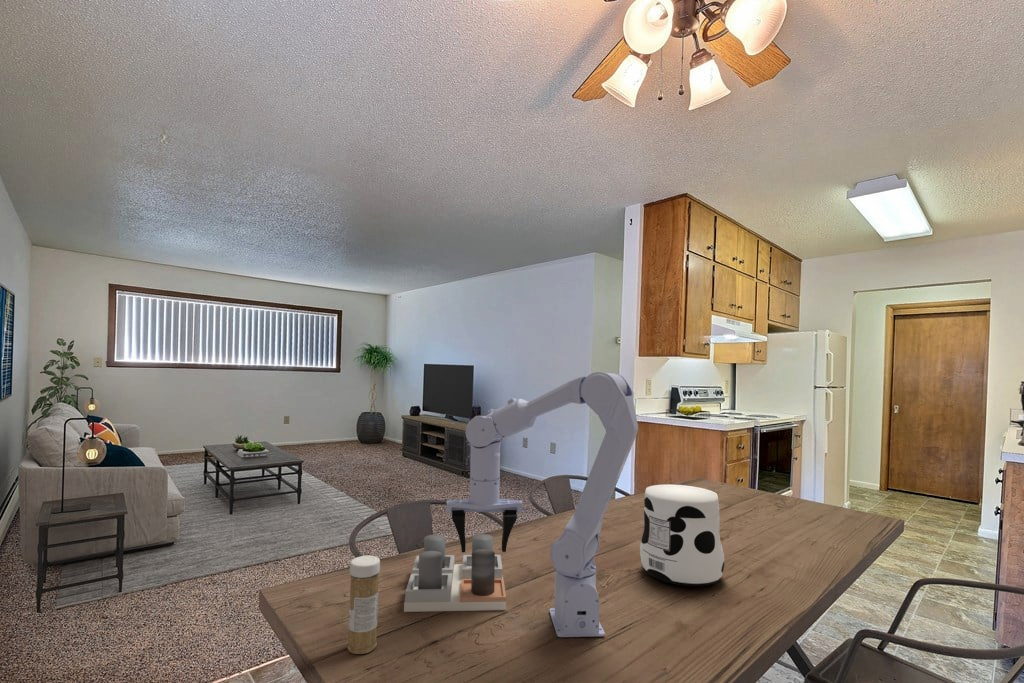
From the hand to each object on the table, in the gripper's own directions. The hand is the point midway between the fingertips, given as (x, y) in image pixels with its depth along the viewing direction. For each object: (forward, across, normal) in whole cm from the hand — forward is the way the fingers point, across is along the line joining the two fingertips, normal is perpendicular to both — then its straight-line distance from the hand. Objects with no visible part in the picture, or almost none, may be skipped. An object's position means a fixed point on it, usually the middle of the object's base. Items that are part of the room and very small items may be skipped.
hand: (483, 550), depth 97 cm
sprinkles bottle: (+9, +19, +16) cm, 27 cm away
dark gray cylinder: (+8, 0, 0) cm, 8 cm away
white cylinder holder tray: (+9, +5, -5) cm, 12 cm away
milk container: (+10, -43, -10) cm, 45 cm away
